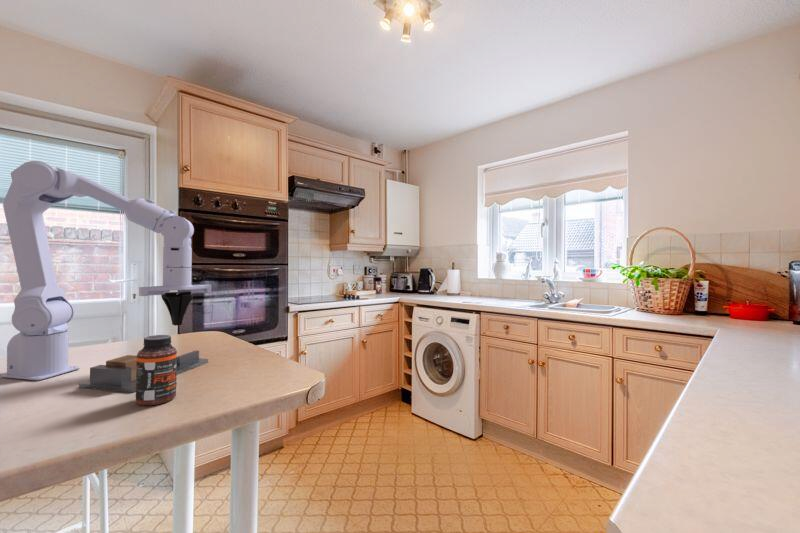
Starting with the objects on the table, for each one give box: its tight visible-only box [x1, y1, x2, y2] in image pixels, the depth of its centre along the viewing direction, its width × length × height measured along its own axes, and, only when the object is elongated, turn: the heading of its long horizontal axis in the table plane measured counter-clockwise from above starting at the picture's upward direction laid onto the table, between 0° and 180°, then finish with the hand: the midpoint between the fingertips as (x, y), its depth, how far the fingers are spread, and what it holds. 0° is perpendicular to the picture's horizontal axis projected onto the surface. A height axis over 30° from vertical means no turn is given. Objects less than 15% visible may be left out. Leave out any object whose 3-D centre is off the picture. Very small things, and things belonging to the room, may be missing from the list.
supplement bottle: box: [135, 334, 178, 406], centre depth 62 cm, size 6×6×11 cm
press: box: [78, 350, 209, 393], centre depth 76 cm, size 12×20×4 cm, turn 171°
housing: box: [105, 354, 137, 381], centre depth 71 cm, size 4×6×4 cm
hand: (176, 324), depth 83 cm, fingers closed
